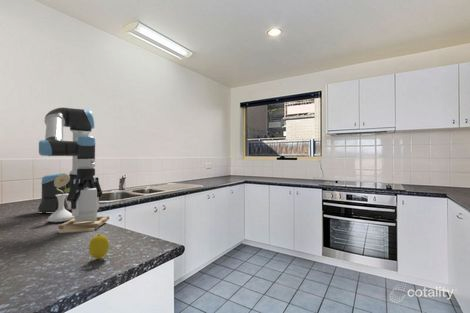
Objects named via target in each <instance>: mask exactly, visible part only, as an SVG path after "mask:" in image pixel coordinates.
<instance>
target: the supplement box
mask: <svg viewBox="0 0 470 313" xmlns="http://www.w3.org/2000/svg"><path fill="white" fill-rule="evenodd" d="M78 191H79V190H77V191H76V193H77V192H78ZM77 201H78V216H74V218H75V223H78V222H86V221H94V220H97V217H98V210H97V189H96V188H84V189H83V190H81V192H80V196H79V198H78V200H77Z"/></svg>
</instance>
